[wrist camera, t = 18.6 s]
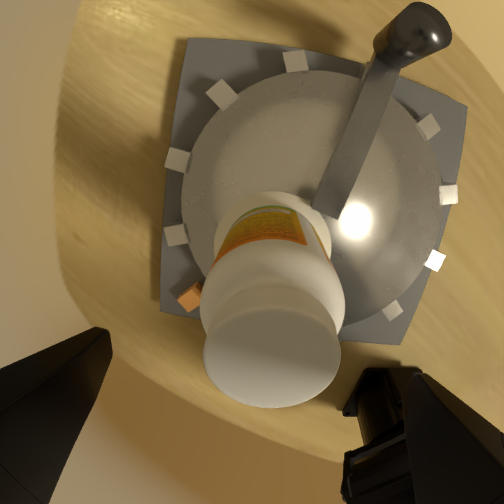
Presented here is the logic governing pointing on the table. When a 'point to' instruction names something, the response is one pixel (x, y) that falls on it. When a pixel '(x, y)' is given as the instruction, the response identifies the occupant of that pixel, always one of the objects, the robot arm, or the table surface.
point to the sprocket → (327, 166)
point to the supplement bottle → (272, 311)
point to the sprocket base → (239, 78)
